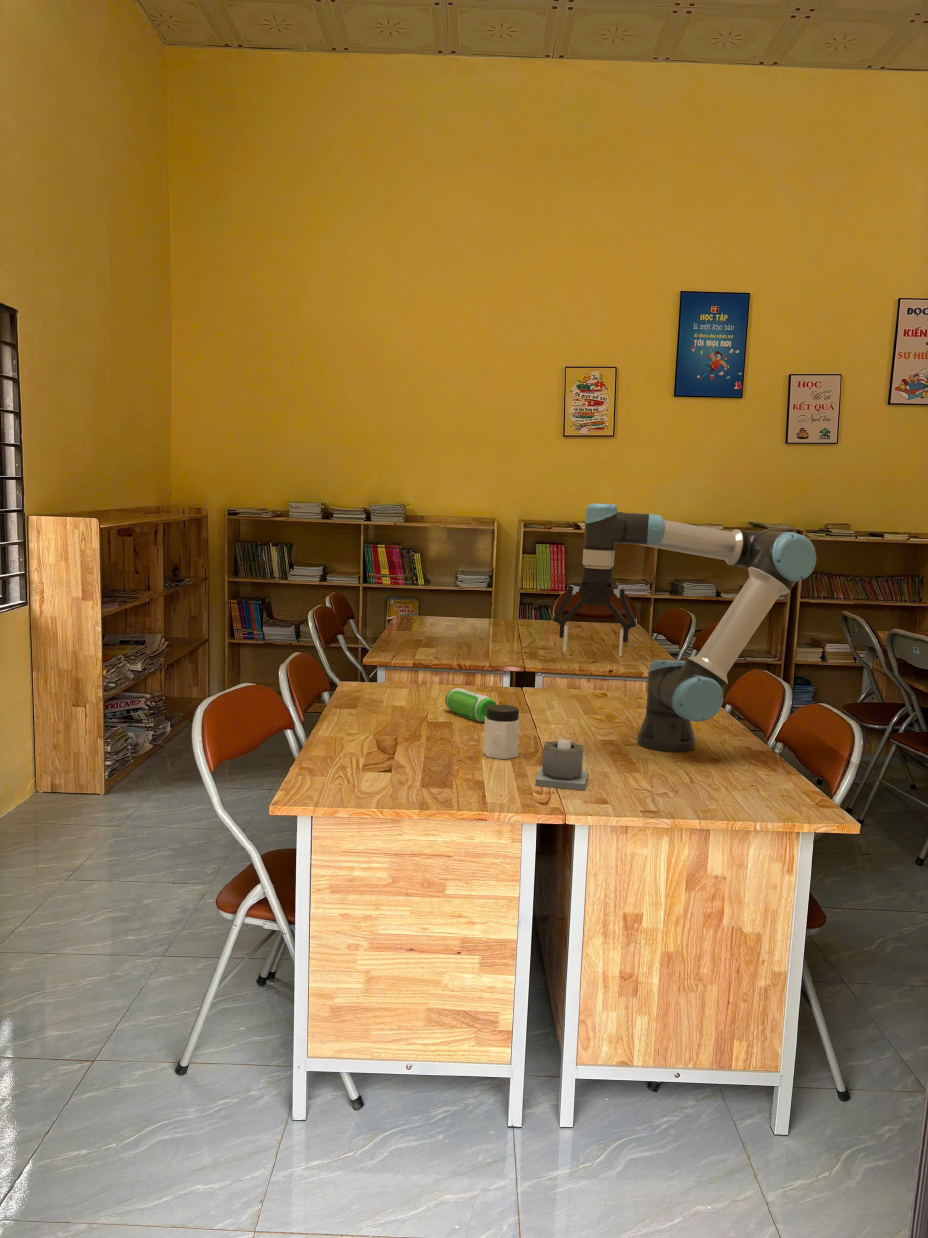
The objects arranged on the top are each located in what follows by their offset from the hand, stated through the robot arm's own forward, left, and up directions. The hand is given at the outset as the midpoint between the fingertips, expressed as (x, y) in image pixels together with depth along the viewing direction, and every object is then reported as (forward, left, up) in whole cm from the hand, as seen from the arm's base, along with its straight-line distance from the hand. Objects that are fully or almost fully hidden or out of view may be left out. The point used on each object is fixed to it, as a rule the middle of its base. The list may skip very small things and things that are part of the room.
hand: (592, 653), depth 242 cm
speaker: (+36, -35, -27) cm, 57 cm away
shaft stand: (+4, +22, -27) cm, 35 cm away
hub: (+4, +22, -24) cm, 33 cm away
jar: (+21, +4, -27) cm, 34 cm away
